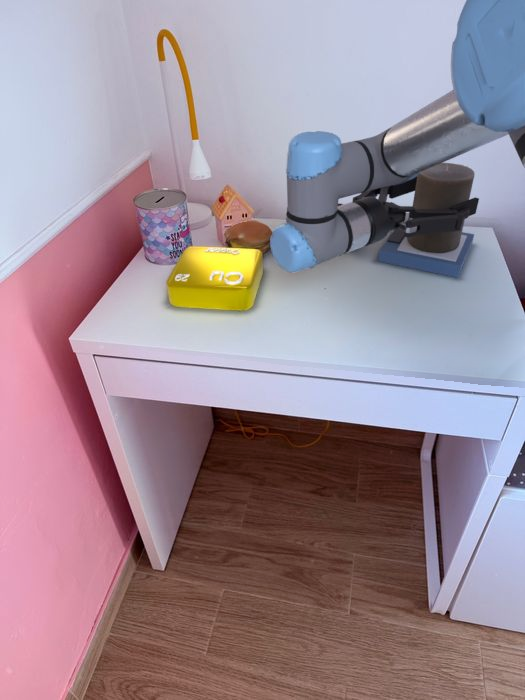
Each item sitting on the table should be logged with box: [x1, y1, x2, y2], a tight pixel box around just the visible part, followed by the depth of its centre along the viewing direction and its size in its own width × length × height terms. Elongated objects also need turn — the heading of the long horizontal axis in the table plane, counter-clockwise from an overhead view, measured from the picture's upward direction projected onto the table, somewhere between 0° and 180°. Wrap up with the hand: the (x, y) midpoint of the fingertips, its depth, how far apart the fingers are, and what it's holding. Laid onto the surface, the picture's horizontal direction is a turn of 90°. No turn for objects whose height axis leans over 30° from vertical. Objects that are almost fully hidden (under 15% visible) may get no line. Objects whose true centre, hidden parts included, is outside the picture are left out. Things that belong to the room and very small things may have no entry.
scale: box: [377, 229, 475, 279], centre depth 102 cm, size 15×14×3 cm
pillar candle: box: [407, 162, 475, 253], centre depth 95 cm, size 10×10×15 cm
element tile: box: [165, 245, 264, 312], centre depth 93 cm, size 15×15×5 cm
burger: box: [223, 220, 273, 255], centre depth 105 cm, size 10×9×5 cm
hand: (444, 193), depth 94 cm, fingers open, 13 cm apart
